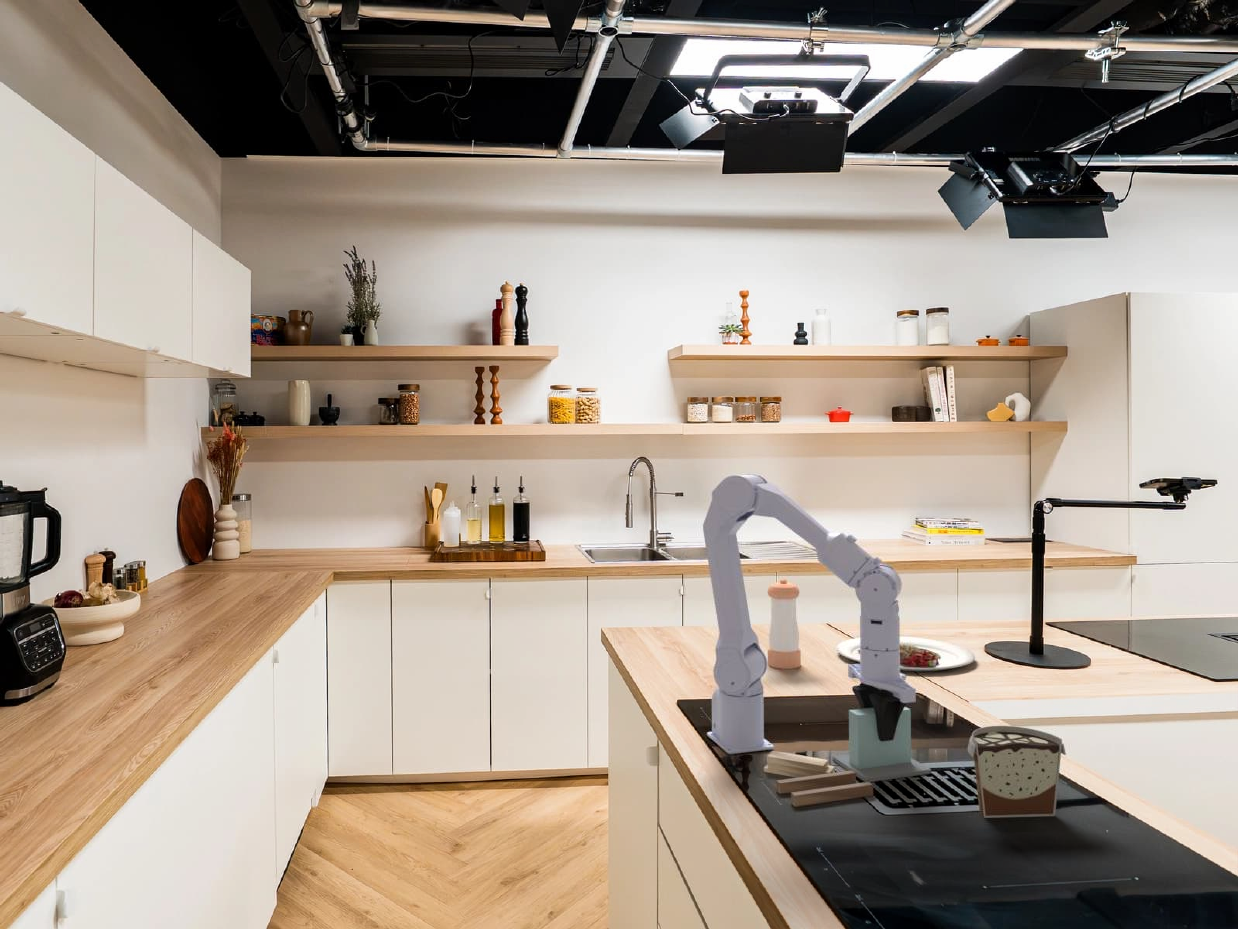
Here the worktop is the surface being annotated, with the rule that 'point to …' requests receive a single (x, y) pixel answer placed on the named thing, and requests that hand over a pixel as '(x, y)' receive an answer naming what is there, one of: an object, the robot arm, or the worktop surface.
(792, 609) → the pepper shaker
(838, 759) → the slate mat
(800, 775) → the offcut planks
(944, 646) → the plated food
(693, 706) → the worktop surface
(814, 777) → the walnut rack
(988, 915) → the worktop surface
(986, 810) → the food container
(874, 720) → the tall board
